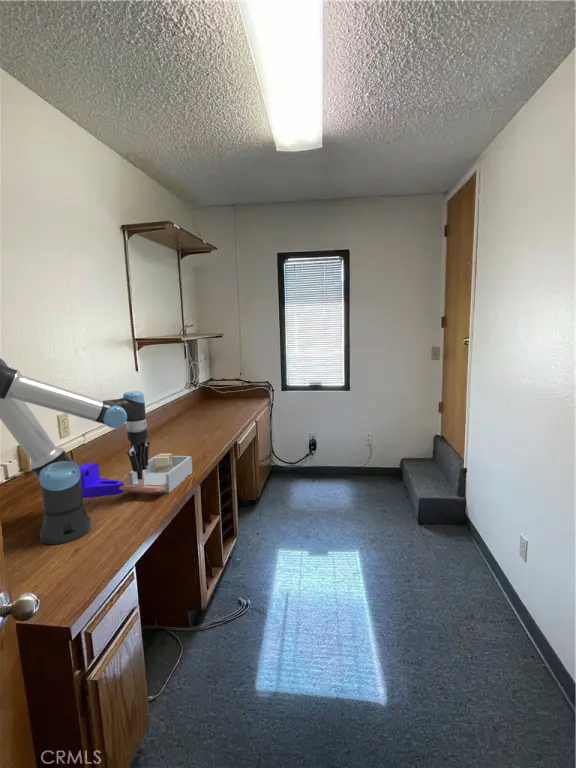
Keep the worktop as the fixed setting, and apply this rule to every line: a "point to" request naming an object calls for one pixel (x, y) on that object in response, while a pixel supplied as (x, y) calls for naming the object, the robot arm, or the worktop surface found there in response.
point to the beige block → (163, 463)
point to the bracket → (97, 482)
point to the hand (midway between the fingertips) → (142, 485)
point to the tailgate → (142, 488)
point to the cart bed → (165, 473)
